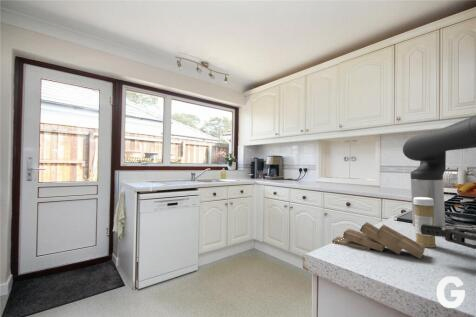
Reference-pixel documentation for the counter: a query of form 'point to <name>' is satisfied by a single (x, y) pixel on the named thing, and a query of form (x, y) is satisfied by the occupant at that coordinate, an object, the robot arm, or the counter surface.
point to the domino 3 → (401, 241)
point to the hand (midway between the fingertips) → (421, 229)
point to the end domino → (349, 243)
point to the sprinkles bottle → (424, 220)
